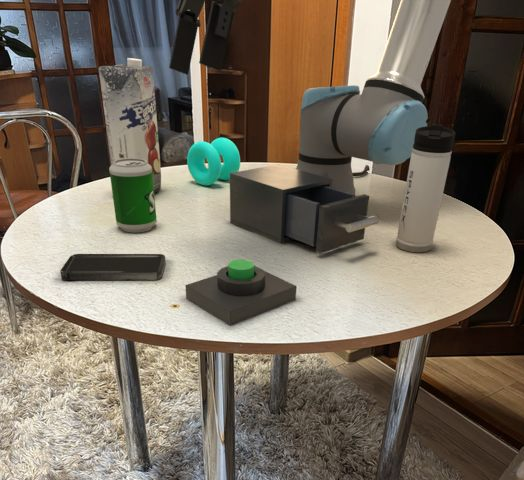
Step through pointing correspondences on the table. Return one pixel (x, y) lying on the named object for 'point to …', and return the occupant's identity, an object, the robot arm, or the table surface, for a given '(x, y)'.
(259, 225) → the cabinet
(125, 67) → the juice carton
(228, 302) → the panel
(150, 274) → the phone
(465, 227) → the table surface
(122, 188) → the soda can
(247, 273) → the button
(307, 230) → the drawer
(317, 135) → the robot arm
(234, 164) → the donuts
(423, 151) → the travel mug
